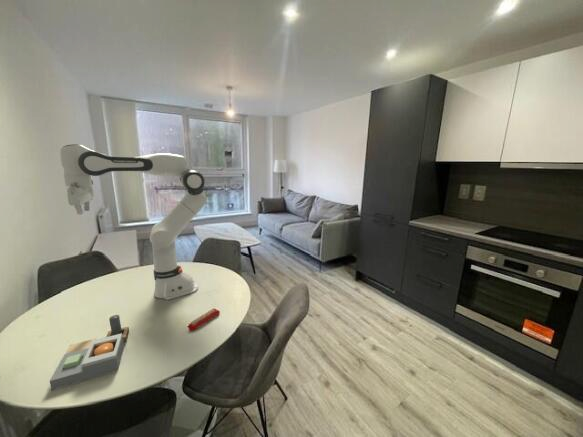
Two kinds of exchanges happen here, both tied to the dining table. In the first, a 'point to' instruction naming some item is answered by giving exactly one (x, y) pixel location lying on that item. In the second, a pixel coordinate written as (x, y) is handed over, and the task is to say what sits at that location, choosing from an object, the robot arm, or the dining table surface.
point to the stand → (124, 332)
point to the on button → (73, 361)
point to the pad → (79, 346)
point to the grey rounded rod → (115, 325)
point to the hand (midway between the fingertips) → (84, 212)
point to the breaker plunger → (104, 349)
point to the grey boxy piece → (89, 363)
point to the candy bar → (203, 319)
